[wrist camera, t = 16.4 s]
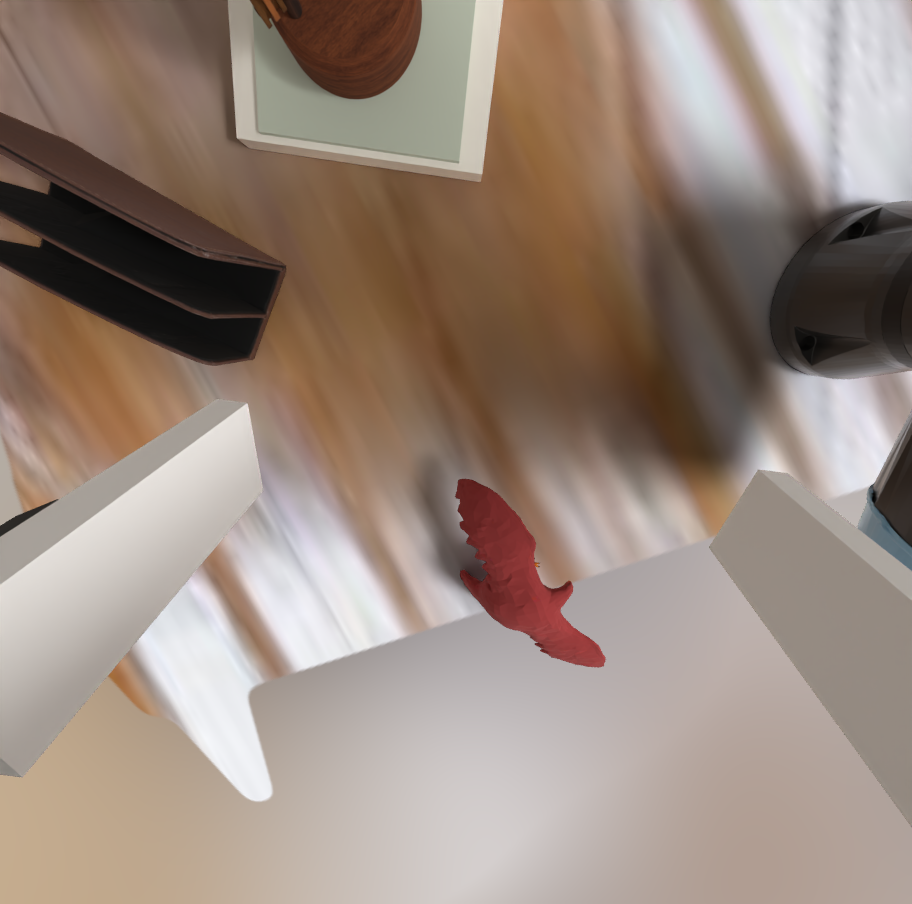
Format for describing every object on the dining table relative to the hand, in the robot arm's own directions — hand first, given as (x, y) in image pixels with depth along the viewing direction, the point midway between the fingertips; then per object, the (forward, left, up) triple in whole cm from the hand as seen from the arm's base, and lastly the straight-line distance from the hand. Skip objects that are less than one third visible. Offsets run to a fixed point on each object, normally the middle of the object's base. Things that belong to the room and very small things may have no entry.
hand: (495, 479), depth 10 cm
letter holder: (+29, -5, -30) cm, 42 cm away
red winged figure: (-8, +24, -30) cm, 40 cm away
